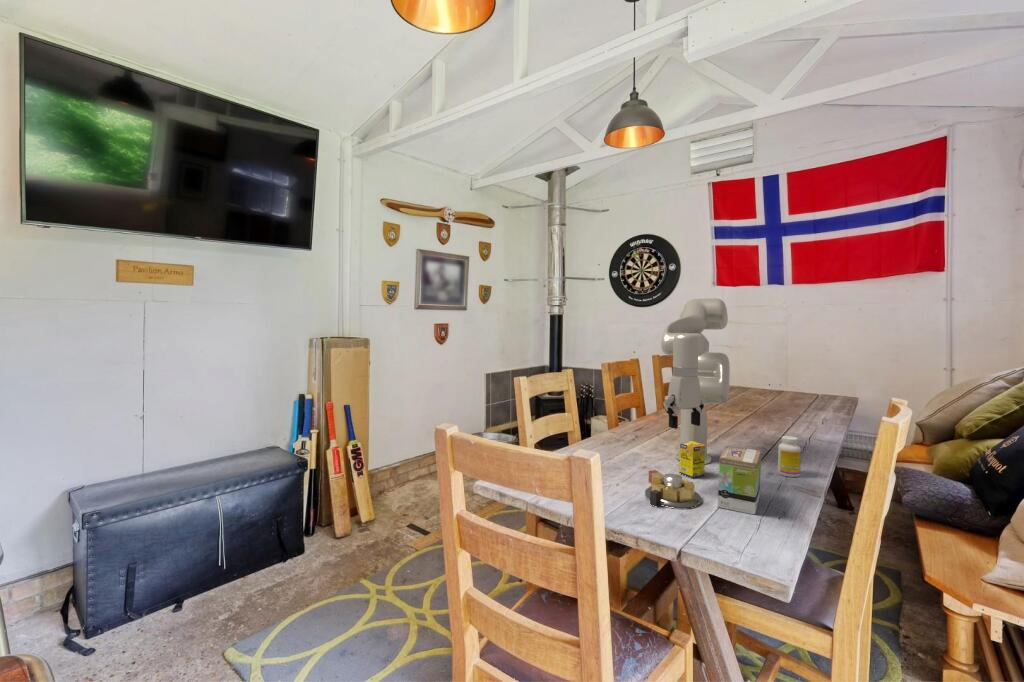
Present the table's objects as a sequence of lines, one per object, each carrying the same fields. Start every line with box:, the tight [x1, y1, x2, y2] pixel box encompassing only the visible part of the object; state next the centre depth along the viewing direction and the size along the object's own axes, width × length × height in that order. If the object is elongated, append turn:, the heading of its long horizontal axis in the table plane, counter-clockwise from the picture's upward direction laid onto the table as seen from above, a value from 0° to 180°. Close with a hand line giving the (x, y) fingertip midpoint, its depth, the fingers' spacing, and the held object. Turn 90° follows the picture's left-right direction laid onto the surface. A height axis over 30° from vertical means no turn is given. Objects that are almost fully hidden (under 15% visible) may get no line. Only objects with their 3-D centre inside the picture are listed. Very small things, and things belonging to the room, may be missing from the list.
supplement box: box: [678, 441, 706, 479], centre depth 158 cm, size 6×6×11 cm
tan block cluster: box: [648, 469, 696, 502], centre depth 140 cm, size 16×12×4 cm
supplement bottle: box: [777, 435, 802, 478], centre depth 158 cm, size 7×7×13 cm
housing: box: [644, 473, 702, 509], centre depth 138 cm, size 16×18×6 cm
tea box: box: [717, 445, 762, 515], centre depth 134 cm, size 15×10×15 cm
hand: (684, 426), depth 146 cm, fingers open, 9 cm apart
